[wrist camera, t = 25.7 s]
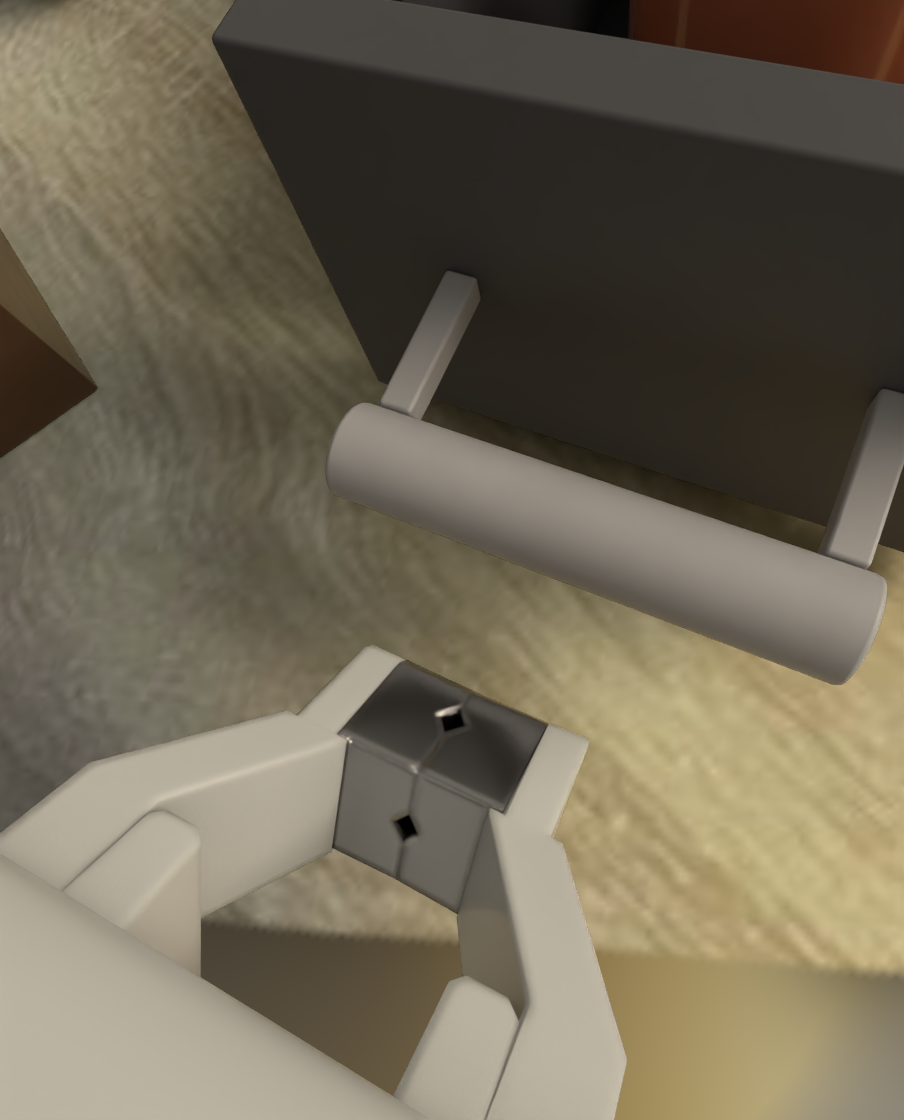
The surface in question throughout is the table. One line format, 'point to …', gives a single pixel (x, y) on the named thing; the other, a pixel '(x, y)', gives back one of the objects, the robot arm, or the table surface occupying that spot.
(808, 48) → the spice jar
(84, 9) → the table surface
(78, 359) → the riser
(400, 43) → the drawer
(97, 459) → the table surface
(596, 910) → the table surface
